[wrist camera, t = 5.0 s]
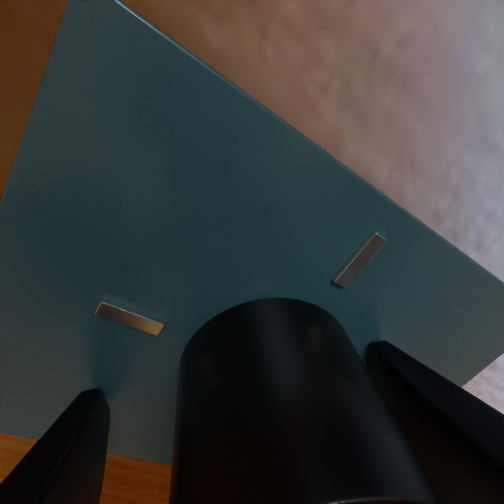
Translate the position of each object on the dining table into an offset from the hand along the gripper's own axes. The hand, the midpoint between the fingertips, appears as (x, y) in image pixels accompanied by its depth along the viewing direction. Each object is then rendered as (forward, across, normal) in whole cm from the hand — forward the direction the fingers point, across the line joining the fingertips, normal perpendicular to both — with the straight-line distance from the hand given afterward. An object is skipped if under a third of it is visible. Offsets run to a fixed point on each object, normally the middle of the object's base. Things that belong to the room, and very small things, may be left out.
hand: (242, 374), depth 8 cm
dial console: (+3, -1, 0) cm, 3 cm away
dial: (0, -1, 0) cm, 1 cm away
